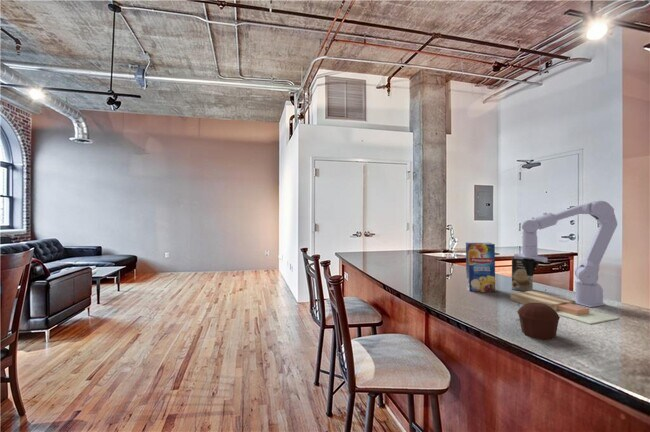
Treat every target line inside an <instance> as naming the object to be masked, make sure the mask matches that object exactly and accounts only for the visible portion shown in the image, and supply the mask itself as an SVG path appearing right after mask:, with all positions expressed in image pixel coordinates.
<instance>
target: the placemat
mask: <svg viewBox="0 0 650 432" xmlns="http://www.w3.org/2000/svg"><path fill="white" fill-rule="evenodd" d="M556 313H557V314H558V315H559V317H564V318H568V319H570V320H574V321H577V322H580V323H583V324H588V325H594V324H598V323H599V324H600V323H603V322H604V323H605V322H608V321H614V320H619V319H620V317H619V316H614V315H610V314H606V313H603V312H599V311H596V310H591V309H589V314H584V315H578V316H576V315H572V314H569V313H565V312H562V311H556Z"/></svg>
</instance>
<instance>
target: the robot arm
mask: <svg viewBox="0 0 650 432" xmlns="http://www.w3.org/2000/svg"><path fill="white" fill-rule="evenodd" d="M577 215H590V216H591V217H592V218H594V219H595V220H596V222H597V223H598V224H599V226H598V229H597V231H596V233H595V235H594V238H593V239H592V242H591V243H590V246H589V249H588V250H587V254H586V255H585V258H584V259H583V260H582V261H581V263H580V265H579V266H578V267H576V268H575V270H574V275H575V277H576V278H577V279H575V288H574V289H575V293H574V294H575V300H574V301H575V305H579V306H583V307H587V308H594V307H595V308H596V307H600V306H606V303H604V290H603V287H602V285H600V284H599V283H598V280H599V271H600V264H601V262H602V259H603V257H604V255H605V253H606V251H607V248H608V246H609V244H610V242H611V240H612V238H613V235H614V233H615V231H616V229H617V227H618V221H617V218H616V215H615V208H614V207H613V206H612V205H611V204H610V203H608V202H607V201H605V200H598V201H595V200H594V201H591V202H588V203H582V204H578V205H576V206H573V207H569V208H568V209H565V210H561V211H559V212H557V213H552V212H544V213H542V215H540V216H536V217H534V216H533V217H531V219H527V220H525V221H523V222H522V224H521V229H522V238H521V239H522V253H513V254H514V255H513V257H514V258H520V259H523V260H521V262H522V263H523V265H524V267H525V269H526V272H527V276H534V274H535V271H536V268H537V266H538V265H539V263H540V262H541V263H548V257H545V256H542V255H541V256H540V255H538V235H537V234H538V232H537V231H538V230H543V229H546V228H549V227H552V226H555V225H557V223H558V222H559V221H560V220H563V219H567V218H570V217H573V216H577ZM529 258H532V259H529Z"/></svg>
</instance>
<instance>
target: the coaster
mask: <svg viewBox="0 0 650 432" xmlns="http://www.w3.org/2000/svg"><path fill="white" fill-rule="evenodd" d="M557 310H558V311H562V312H565V313H569V314H572V315H576V316H578V315H584V314H589V310H590V307H587V306H583V305H579V304H575V305H574V304H570V303H569V304H562V305H557Z"/></svg>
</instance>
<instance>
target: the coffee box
mask: <svg viewBox="0 0 650 432" xmlns="http://www.w3.org/2000/svg"><path fill="white" fill-rule="evenodd" d="M529 259H532V258H529ZM521 260H523V259H520V258H514V256H511V290H514V291H520V292H526V291H534V290H533V288H534V285H533V283H534V277H533V276H534V275H533V276H527V272H526V269H525V267H524V265H523V263H522V262H521Z"/></svg>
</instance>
